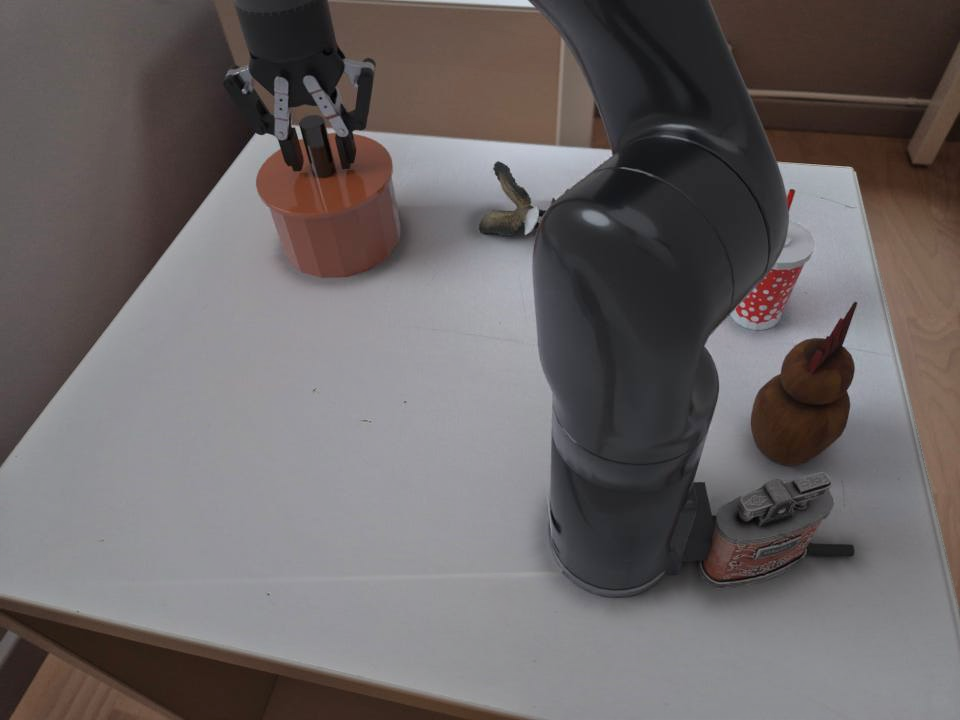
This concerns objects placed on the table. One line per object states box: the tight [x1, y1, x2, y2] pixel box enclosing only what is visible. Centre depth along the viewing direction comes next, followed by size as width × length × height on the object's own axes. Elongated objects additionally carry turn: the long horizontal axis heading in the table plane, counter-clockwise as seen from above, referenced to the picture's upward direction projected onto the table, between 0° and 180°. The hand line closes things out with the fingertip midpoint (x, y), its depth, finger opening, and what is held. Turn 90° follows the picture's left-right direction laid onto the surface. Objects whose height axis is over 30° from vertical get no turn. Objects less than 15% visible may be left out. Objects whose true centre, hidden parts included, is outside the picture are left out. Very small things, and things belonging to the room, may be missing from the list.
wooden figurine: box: [749, 301, 858, 466], centre depth 55 cm, size 7×6×15 cm
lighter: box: [697, 471, 835, 590], centre depth 51 cm, size 8×3×10 cm, turn 106°
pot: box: [268, 177, 402, 279], centre depth 78 cm, size 13×13×8 cm
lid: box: [255, 114, 394, 219], centre depth 73 cm, size 14×14×7 cm
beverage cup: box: [730, 188, 816, 331], centre depth 66 cm, size 6×6×14 cm
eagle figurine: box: [478, 160, 570, 236], centre depth 79 cm, size 8×7×9 cm
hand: (323, 164), depth 74 cm, fingers open, 4 cm apart
